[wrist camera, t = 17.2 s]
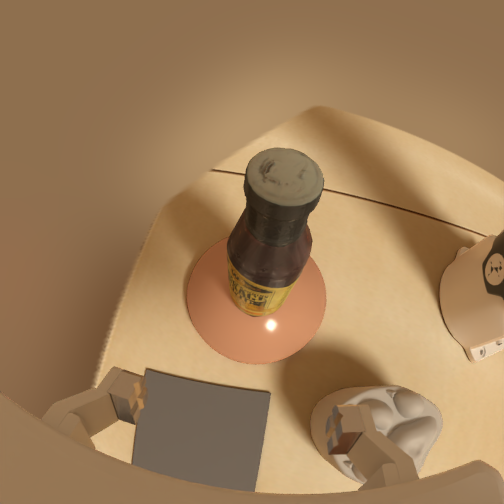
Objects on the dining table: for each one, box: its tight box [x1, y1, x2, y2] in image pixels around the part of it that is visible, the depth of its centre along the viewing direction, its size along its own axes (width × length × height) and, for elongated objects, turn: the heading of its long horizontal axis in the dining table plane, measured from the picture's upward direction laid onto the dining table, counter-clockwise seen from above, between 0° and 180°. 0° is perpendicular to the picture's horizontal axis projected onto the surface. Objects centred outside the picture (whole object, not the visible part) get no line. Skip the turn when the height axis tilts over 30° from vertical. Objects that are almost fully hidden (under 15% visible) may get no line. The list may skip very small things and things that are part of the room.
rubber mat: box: [132, 370, 271, 492], centre depth 24 cm, size 14×14×1 cm
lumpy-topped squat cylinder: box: [310, 385, 443, 484], centre depth 21 cm, size 10×13×9 cm
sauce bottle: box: [227, 148, 324, 317], centre depth 22 cm, size 7×6×20 cm
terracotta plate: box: [187, 237, 326, 364], centre depth 32 cm, size 16×16×1 cm
